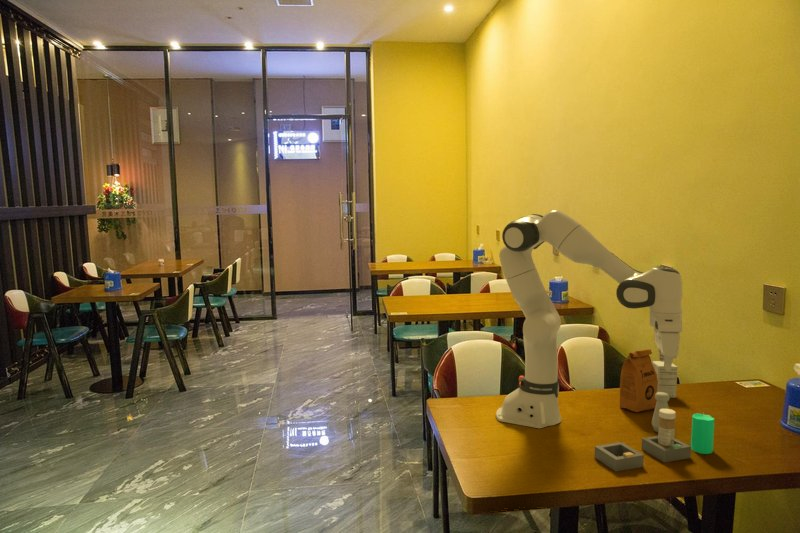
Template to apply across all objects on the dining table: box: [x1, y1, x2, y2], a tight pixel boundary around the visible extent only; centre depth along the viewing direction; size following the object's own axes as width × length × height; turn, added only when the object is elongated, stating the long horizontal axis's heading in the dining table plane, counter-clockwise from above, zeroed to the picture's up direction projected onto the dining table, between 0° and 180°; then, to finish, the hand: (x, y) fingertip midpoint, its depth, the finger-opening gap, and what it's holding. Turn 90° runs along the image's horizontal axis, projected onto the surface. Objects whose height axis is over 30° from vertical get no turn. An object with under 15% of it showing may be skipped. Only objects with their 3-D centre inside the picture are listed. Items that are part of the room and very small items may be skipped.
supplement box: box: [651, 360, 678, 399], centre depth 223 cm, size 7×7×13 cm
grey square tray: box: [641, 435, 692, 463], centre depth 171 cm, size 10×10×4 cm
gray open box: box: [594, 441, 645, 472], centre depth 166 cm, size 10×10×4 cm
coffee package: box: [619, 348, 658, 413], centre depth 208 cm, size 10×12×22 cm
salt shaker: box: [651, 392, 671, 433], centre depth 188 cm, size 6×6×13 cm
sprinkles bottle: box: [657, 408, 677, 448], centre depth 171 cm, size 5×5×14 cm
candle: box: [690, 411, 715, 455], centre depth 173 cm, size 6×6×12 cm
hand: (665, 365), depth 172 cm, fingers open, 8 cm apart
